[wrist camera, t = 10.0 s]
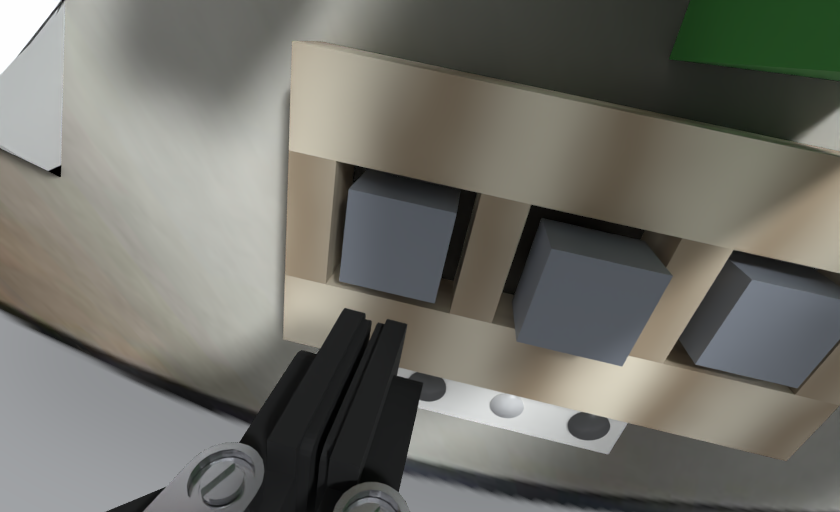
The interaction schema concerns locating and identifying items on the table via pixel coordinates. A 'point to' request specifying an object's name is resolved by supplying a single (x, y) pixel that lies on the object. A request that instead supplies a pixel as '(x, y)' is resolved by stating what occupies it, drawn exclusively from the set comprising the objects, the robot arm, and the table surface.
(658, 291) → the middle button
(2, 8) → the file organizer
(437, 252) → the button
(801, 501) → the table surface
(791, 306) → the button
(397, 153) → the button board
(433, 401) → the pattern card
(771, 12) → the hardback book
